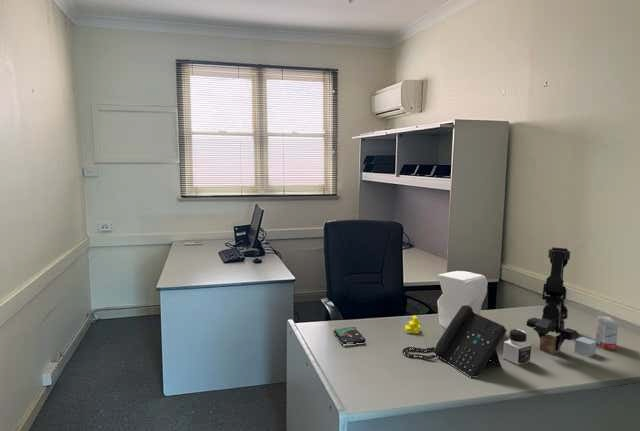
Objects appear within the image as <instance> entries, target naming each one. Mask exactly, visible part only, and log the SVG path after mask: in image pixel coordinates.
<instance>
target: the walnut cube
mask: <svg viewBox="0 0 640 431" xmlns="http://www.w3.org/2000/svg"><path fill="white" fill-rule="evenodd" d="M556 341H557V339H556V337H555V336H554V335H552V334H549V333H548V334H546V335H545V336H542V337H540V338H539V350H540V351H543V352H545V353H547V354H549V355H550V354H551V355H555V354H557V353H560V352H561V347H560V348H559V350H558V351H556Z"/></svg>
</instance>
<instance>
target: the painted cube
mask: <svg viewBox="0 0 640 431" xmlns="http://www.w3.org/2000/svg"><path fill="white" fill-rule="evenodd" d="M574 340H575V341H574V353H575V354H578V355H581V356H584V357H587V358H590V357H591V356H595V355H596V350H597V342H596V341H595V340H594V339H590V338H587V337H584V336H581V337H578V338H575V339H574Z"/></svg>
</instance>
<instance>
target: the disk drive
mask: <svg viewBox="0 0 640 431" xmlns="http://www.w3.org/2000/svg"><path fill="white" fill-rule="evenodd" d="M334 333H335V334H336V336H337V337H338V338H339V340H340V341H341V342H342V343H343V344H356V343H364V342H366V340H367V339H366V338H365V337H364V336H363V335H362V333H360V332H359V330H358V329H357V328H356V327H355V326H351V327H349V326H348V327H343V328H334V329H333V334H334ZM336 336H335V337H336ZM337 337H336V338H337ZM339 340H338V341H339ZM340 341H339V342H340Z"/></svg>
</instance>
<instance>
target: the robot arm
mask: <svg viewBox="0 0 640 431" xmlns="http://www.w3.org/2000/svg"><path fill="white" fill-rule="evenodd" d="M547 257H548V258H549V262H550V264H551V268H550V275H549V276H548V277H547V278H546V281H545V283H543V289H542V300H544V301H545V304H544V306H543V309H542V315H541V316H542V317H541V318H537V317H532V318H528V319H527V321H526V326H527V327H529V328H532V330H533V331H535V332H536V333H537V335H538V336H539V339H540V337H542V336H545V335H547V334H548V335H549V333H554V332H555V333H558V335H556V336H554V337H556V339H557V341H556V351H558V350H559V348H560V349H561V347H562V345H563V343H564V342H565V341H566V340H567V341H572V340H576V339H578V338H579V333H578V331H577V330H575V329H572V328H569V327H568V328H565V320H566V319H568V313H569V310H568V308H567V306H565V305H566V300H567V292H568V291H567V289H568V288H566V286H565V285H564V268H565V267H566V266H567V264H568V262H569V260H570V259H571V251H570V250H568V248H567V247H566V248H565V247H552V248H551V249H548V255H547Z"/></svg>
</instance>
